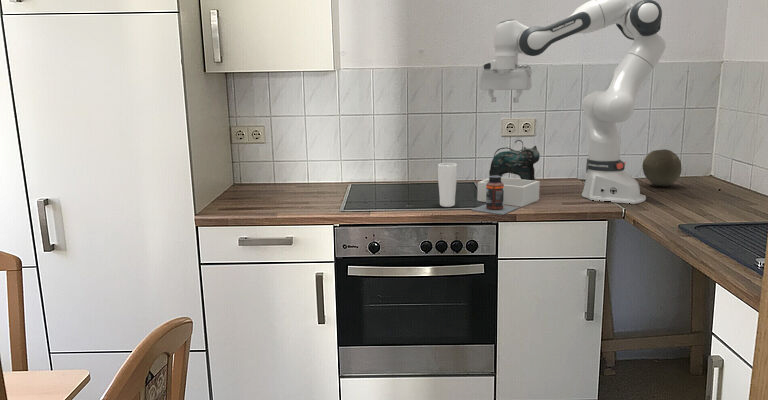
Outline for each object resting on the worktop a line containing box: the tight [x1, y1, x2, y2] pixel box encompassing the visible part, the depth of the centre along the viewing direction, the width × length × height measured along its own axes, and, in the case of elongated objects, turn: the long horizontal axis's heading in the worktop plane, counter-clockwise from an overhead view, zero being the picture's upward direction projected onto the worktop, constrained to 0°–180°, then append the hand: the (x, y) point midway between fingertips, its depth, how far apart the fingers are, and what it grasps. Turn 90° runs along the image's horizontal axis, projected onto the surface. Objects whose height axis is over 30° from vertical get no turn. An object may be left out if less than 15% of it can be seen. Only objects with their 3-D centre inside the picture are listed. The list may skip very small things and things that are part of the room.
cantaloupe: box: [642, 149, 683, 187], centre depth 248 cm, size 14×14×15 cm
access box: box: [476, 176, 541, 208], centre depth 228 cm, size 18×14×7 cm
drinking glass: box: [437, 162, 458, 208], centre depth 220 cm, size 7×7×15 cm
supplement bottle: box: [485, 175, 504, 210], centre depth 213 cm, size 6×6×11 cm
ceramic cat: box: [488, 139, 541, 181], centre depth 247 cm, size 20×6×20 cm, turn 54°
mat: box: [471, 203, 520, 216], centre depth 214 cm, size 12×12×1 cm
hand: (504, 102), depth 234 cm, fingers open, 8 cm apart
